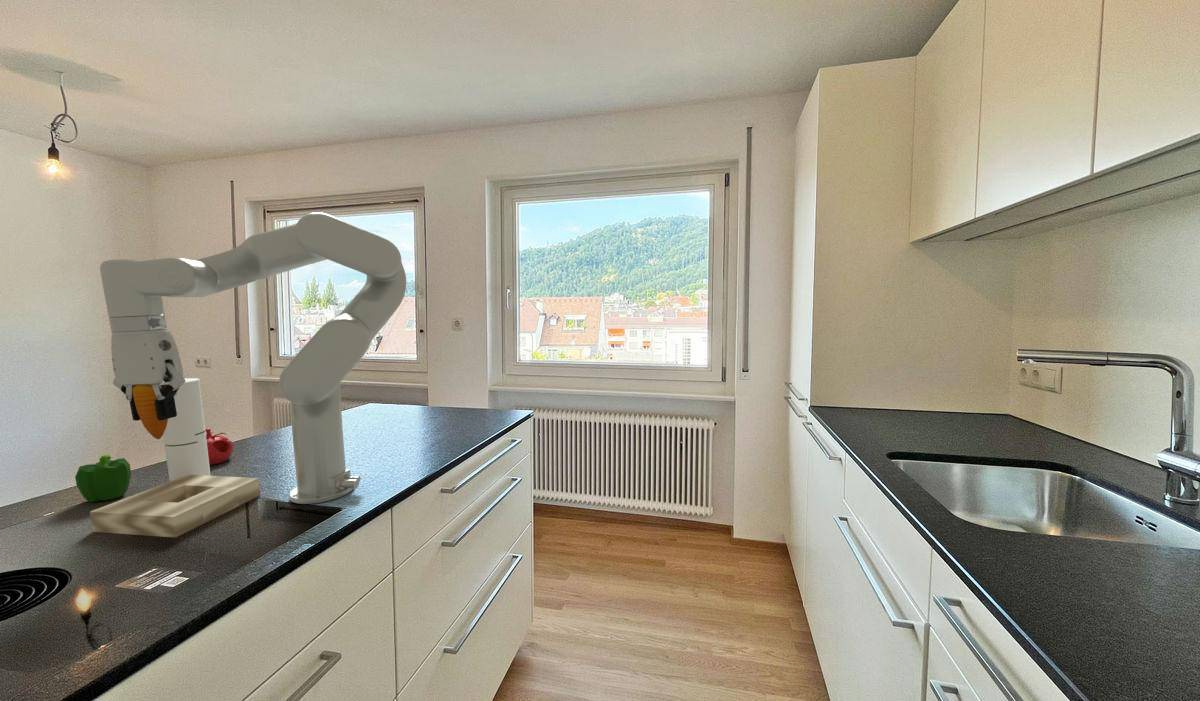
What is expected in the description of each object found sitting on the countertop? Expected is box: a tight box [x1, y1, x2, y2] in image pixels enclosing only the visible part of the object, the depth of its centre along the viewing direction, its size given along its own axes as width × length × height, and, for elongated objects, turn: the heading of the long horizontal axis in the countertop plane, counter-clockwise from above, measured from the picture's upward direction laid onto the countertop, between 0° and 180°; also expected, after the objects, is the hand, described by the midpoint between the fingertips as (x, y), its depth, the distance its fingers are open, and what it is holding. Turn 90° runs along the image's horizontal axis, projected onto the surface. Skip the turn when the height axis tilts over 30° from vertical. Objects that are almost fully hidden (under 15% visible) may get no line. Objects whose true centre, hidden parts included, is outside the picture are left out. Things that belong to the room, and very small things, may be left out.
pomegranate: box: [205, 427, 235, 466], centre depth 122 cm, size 10×10×9 cm
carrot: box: [133, 385, 168, 440], centre depth 89 cm, size 5×5×15 cm
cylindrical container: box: [163, 377, 211, 482], centre depth 106 cm, size 7×7×25 cm
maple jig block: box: [89, 475, 261, 538], centre depth 94 cm, size 18×18×4 cm
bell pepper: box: [74, 454, 132, 503], centre depth 100 cm, size 8×8×10 cm
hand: (155, 417), depth 89 cm, fingers closed on carrot, 4 cm apart
